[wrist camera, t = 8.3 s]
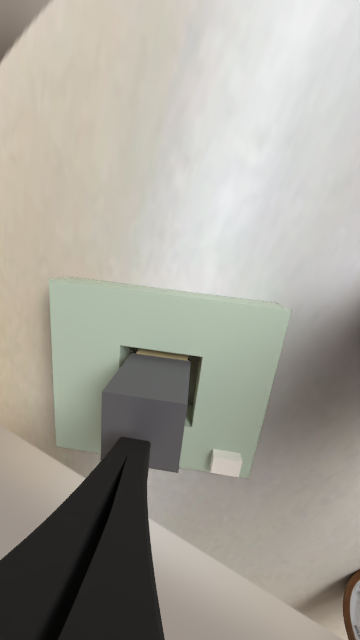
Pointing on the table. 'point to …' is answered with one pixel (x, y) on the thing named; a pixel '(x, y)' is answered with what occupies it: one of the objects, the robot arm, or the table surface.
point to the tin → (352, 607)
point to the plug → (148, 405)
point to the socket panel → (176, 337)
